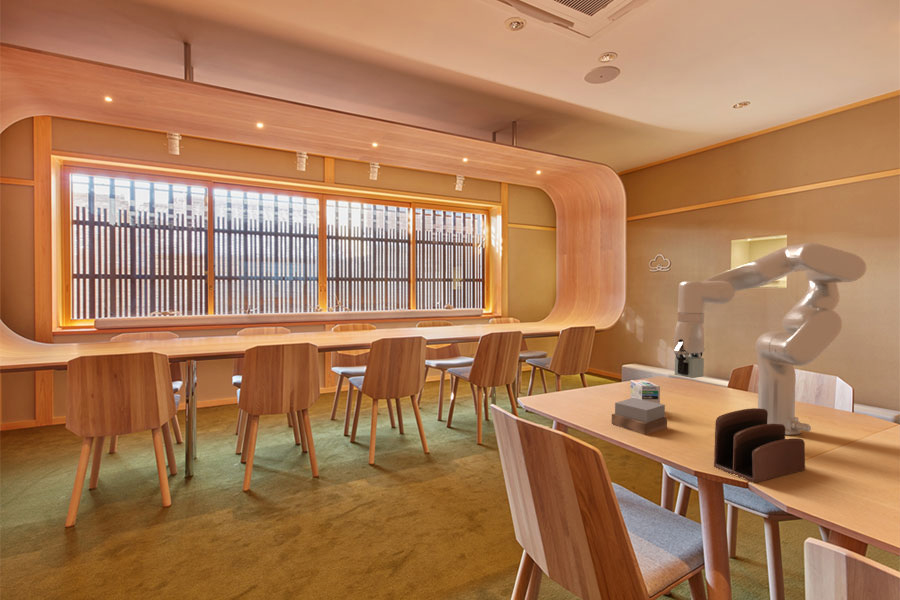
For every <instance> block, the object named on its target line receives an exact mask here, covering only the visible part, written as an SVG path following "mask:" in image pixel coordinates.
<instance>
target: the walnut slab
mask: <svg viewBox="0 0 900 600" xmlns="http://www.w3.org/2000/svg"><path fill="white" fill-rule="evenodd" d="M612 424H613V425H612ZM611 425H612V426H615V427H618V426H619V428H621V427H622V429H625V430H627V431H631V432H634V433H637V434H641V435H644V436H645V434H646V435H648V434H652V432H653V433H656V432H659V431H663V430H667V429H668V418H667V417H666V416H665V417H663V418H660V419H657V420H654V421H651V422H648V423H645V422H641V421H637V420H633V419H630V418H626V417H622V416H618V415H615V413H612V414H611Z"/></svg>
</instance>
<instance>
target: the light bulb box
mask: <svg viewBox="0 0 900 600" xmlns="http://www.w3.org/2000/svg"><path fill="white" fill-rule="evenodd" d="M660 396H661V385H658V384H655V383H653V382H651V381H649V380H647V379H646V380H645V379H644V380H643V379H639V380H636V379H631V380H630V399H631V398H636V399H641V400H645V401H650V402H655V403H659V404H661V397H660Z"/></svg>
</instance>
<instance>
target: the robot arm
mask: <svg viewBox="0 0 900 600" xmlns="http://www.w3.org/2000/svg"><path fill="white" fill-rule="evenodd" d="M866 270H867V265H866V262H865V260H864V259H863V258H862V257H861V256H859V255H857V254H855V253H852V252H848V251H845V250H843V249H838V248H835V247H831V246H827V245H824V244H820V243H815V242H806V243H800V244H799V243H798V244H793V245H787V246H785V247H781V248H779V249H777V250H775V251H773V252H770V253H768V254H767V255H764V256H762V257H759V258H757V259H755V260H752V261H750V262H748V263H745V264H741V265H739V266H736V267H733V268H731V269H729V270H725V271H723V272H721V273H718V274H716V275H713V276H710V277H708V278H706V279H704V280H702V281H698V280H684V281H681V282H679V284H678V296H677V297H678V298H677V299H678V303H677V322H676V325H675V330H674V337H673V338H674V339H673V353H674V354H675V357H677V361H678V374H683V375H688V366H689V363H687V361H688V357H689V356H692V357H699V358H703V353H704V352H705V331H704V324H705V304H712V305H725V304H727V303H729V302H731V301H732V300H733V299H734V298H735V296H736V293H737V292H738V291H743V290H750V289H755V288H760V287H764V286H766V285H769V284H772V283H774V282H775V281H778V280H781V279H782V278H784V277H787V276H789V275H791V274H793V273H797V272H802V271H803V272H805V273H804V274H805V277H806V281H807V290H806V293H804V295H803V296H802V298H800V300H799V301H798V302H797V303H795V305H793V307H792V308H791V309H790V310H788V312H787V313H786V314H785V315H784V317H783V318H782V321H781V322H782V323H781V326H782V328H783V330H785V332H784V331H783V332H782V331H774V330H773V331H767V332H764V333H762V334H761V335H760V336H758V338H757V340H756V342H755V352H756V358H757V363H758V364H757V365H758V381H757V382H758V385H757V388H758V389H757V394H758V395H757V399H758V400H757V408H759V409H766V410H767V412H768V419H767V424H783V425H784V426H785V436H787V435H788V436H791V435H792V436H795V435H800V434H801V433H802V431H804V432H808V433H810V432H811V430H812V429H811V427H812V425H810V423H809V424H808V423H805V422H801V421H800V420H799V417H796V381H797V377H796V371H795V368H794V366H796V367H797V366H798V367H800V366H801V367H803V366H806V365H809V364H811V363H813V362H814V361H815V360H816V359H817V358H818V357H819V356H820V355H821V354H822V353H823V352H824V351H825V350H826V349H827V348H828V347H829V346H830V345H831V344H832V343H833V342H834V341H835V339H837V337H838V336H839V335H840V333H841V331H842V327H843V320H842V317H841V316H840V314H839V313H838V312H837V311H834V310H835V309H836V307H838V304H839V303H840V293H839V288H838V284H837V283H852V282H855V281H858V280H859V279H861V278H862V277H864V275H865V273H866ZM684 356H685V357H684Z"/></svg>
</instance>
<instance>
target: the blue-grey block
mask: <svg viewBox="0 0 900 600" xmlns="http://www.w3.org/2000/svg"><path fill="white" fill-rule="evenodd" d="M683 356H684V357H685V355H683ZM704 362H705V358H704V357H701V358H699V357H692V356H691V355H689V357H688V361H687V363H689V366H688V375H683V374H678V361H677V357H676V356H675V357H674V376H680V377H685V378H690V379H697V378H703V377H704V368H705V367H704V365H705V363H704Z"/></svg>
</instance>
